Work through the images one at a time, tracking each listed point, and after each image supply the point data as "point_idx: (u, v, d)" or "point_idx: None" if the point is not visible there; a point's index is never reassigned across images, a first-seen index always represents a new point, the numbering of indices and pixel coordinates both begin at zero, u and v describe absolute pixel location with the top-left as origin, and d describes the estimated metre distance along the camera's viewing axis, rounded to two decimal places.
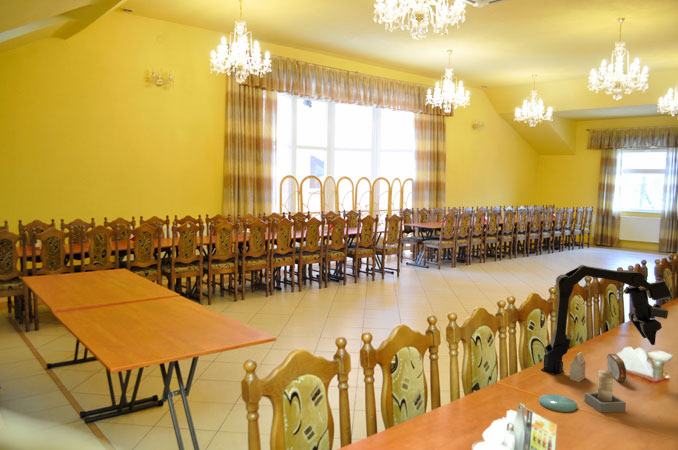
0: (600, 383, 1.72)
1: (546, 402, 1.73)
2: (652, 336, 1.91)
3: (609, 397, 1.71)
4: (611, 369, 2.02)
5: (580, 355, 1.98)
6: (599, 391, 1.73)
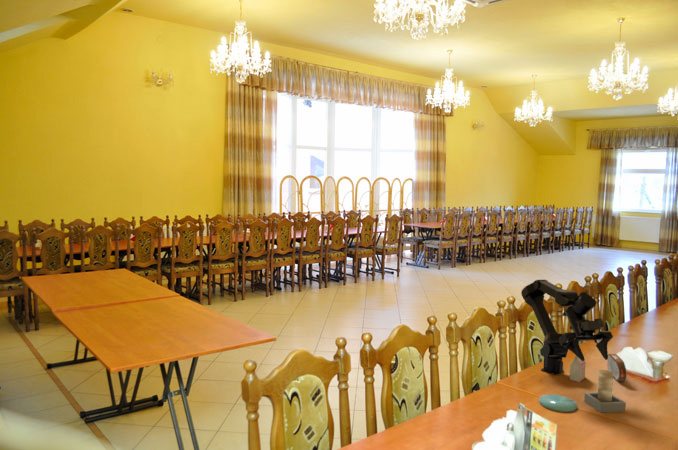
0: (600, 383, 1.72)
1: (546, 402, 1.73)
2: (576, 351, 1.82)
3: (609, 397, 1.71)
4: (611, 369, 2.02)
5: None
6: (599, 391, 1.73)
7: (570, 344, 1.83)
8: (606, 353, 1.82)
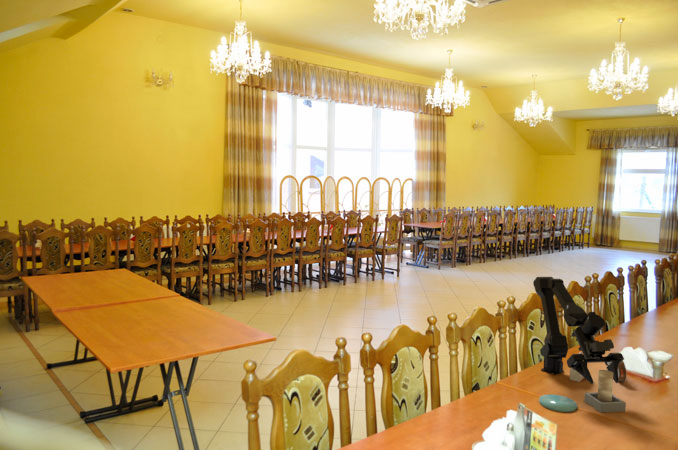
0: (600, 383, 1.72)
1: (546, 402, 1.73)
2: (585, 373, 1.75)
3: (609, 397, 1.71)
4: None
5: None
6: (599, 391, 1.73)
7: (578, 366, 1.76)
8: (617, 376, 1.74)
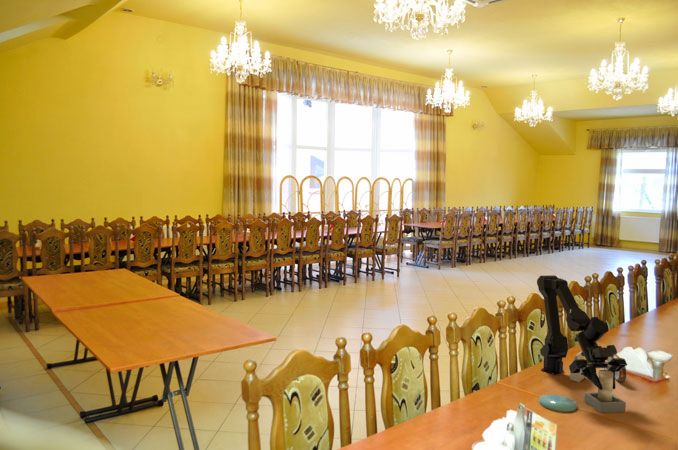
0: None
1: (546, 402, 1.73)
2: (593, 379, 1.73)
3: (609, 397, 1.71)
4: None
5: (580, 355, 1.98)
6: (599, 391, 1.72)
7: (587, 371, 1.75)
8: (614, 382, 1.72)
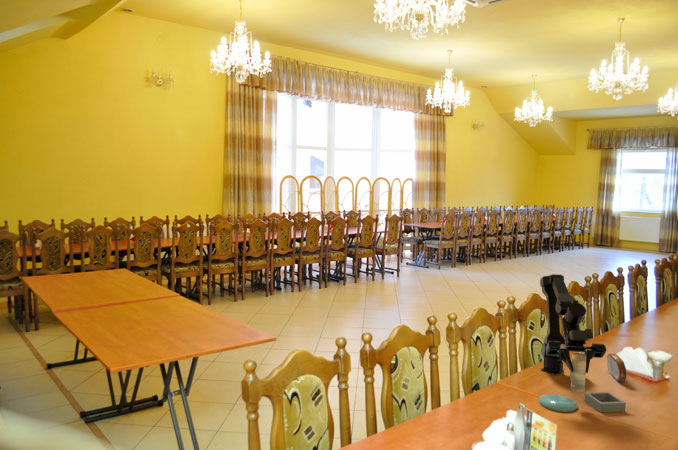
0: (572, 365, 1.72)
1: (546, 402, 1.73)
2: (566, 361, 1.74)
3: (580, 380, 1.70)
4: (611, 369, 2.02)
5: None
6: (571, 373, 1.72)
7: (561, 354, 1.76)
8: (587, 366, 1.71)
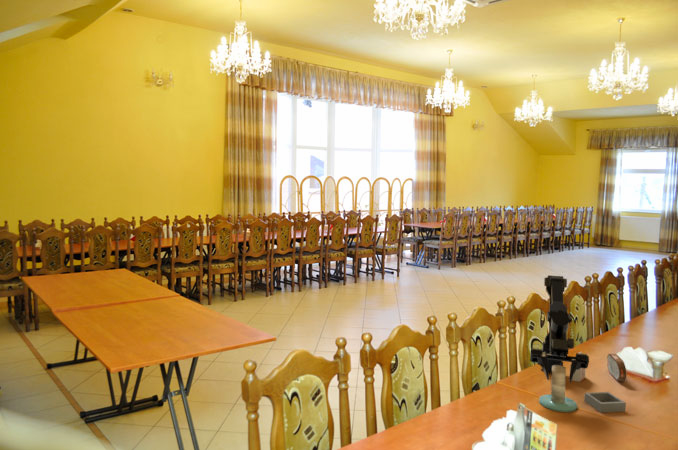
0: None
1: (546, 402, 1.73)
2: (544, 369, 1.76)
3: (558, 391, 1.72)
4: (611, 369, 2.02)
5: None
6: (551, 385, 1.75)
7: (541, 361, 1.78)
8: (571, 376, 1.72)
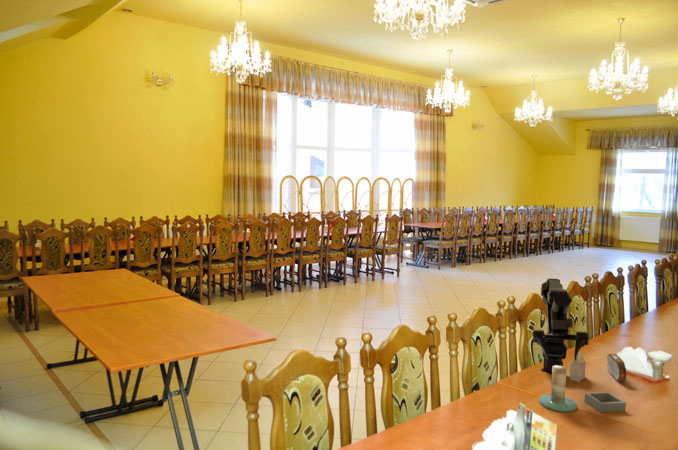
0: (552, 377, 1.74)
1: (546, 402, 1.73)
2: (543, 348, 1.86)
3: (559, 392, 1.72)
4: (611, 369, 2.02)
5: (580, 355, 1.98)
6: (552, 385, 1.75)
7: (540, 341, 1.88)
8: (575, 354, 1.80)
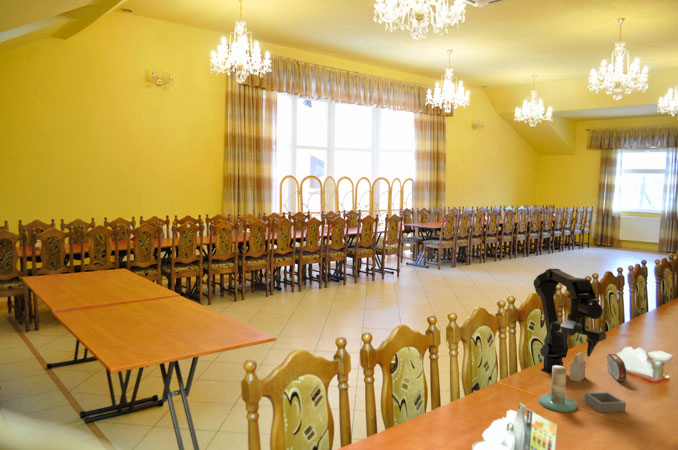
0: (552, 377, 1.74)
1: (546, 402, 1.73)
2: None
3: (559, 392, 1.72)
4: (611, 369, 2.02)
5: (580, 355, 1.98)
6: (552, 385, 1.75)
7: None
8: (588, 352, 1.84)
